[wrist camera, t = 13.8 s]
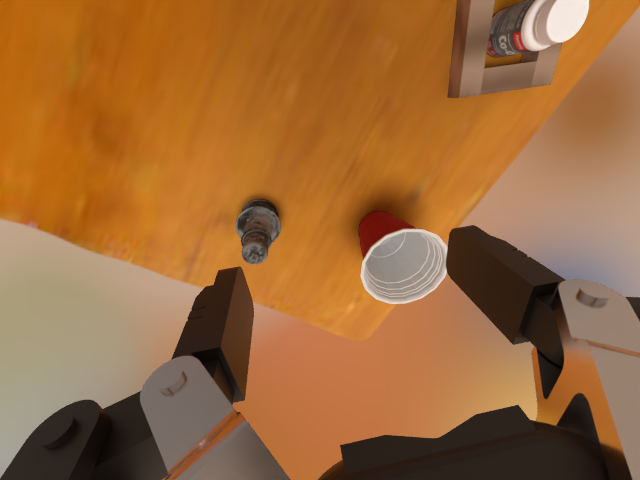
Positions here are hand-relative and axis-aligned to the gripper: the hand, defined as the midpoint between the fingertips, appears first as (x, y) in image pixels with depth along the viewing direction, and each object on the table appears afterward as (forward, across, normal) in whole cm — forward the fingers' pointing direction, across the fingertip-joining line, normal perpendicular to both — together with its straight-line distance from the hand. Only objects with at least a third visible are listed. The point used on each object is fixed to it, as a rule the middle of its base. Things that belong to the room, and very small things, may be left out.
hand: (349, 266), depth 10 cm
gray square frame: (+28, -26, -9) cm, 39 cm away
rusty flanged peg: (+28, +7, +9) cm, 31 cm away
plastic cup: (+28, -10, +14) cm, 33 cm away
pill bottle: (+28, -26, -9) cm, 39 cm away
